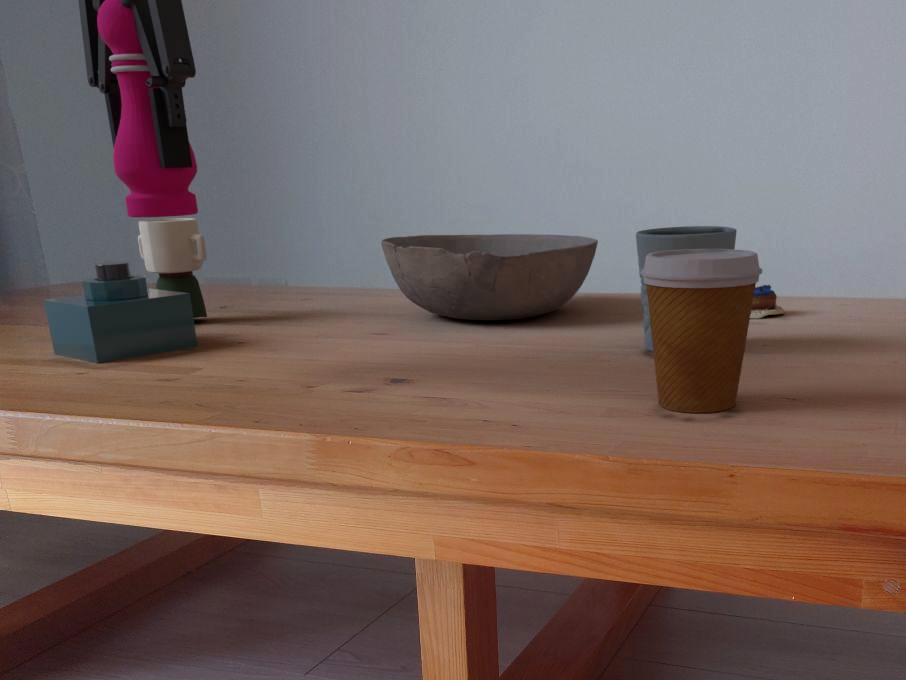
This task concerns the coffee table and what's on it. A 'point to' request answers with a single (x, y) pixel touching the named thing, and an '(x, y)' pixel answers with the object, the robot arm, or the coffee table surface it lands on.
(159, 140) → the robot arm
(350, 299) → the coffee table surface
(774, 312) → the dessert
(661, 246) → the grey cup
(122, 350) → the blue-grey boxy piece
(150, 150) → the pepper mill
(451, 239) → the bowl
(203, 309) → the character mug
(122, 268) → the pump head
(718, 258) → the disposable coffee cup
